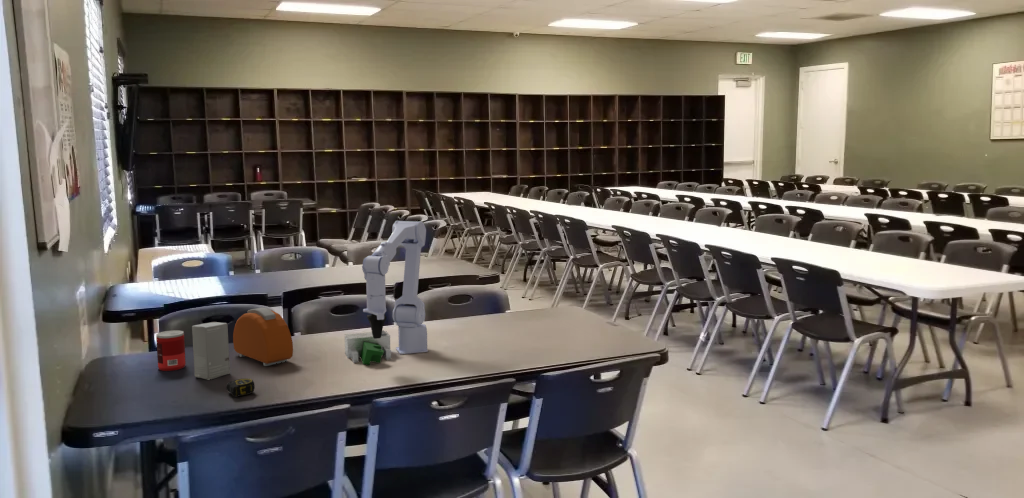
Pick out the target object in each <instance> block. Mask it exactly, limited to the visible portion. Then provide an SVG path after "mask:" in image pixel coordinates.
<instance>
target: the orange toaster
mask: <svg viewBox="0 0 1024 498" xmlns="http://www.w3.org/2000/svg"><path fill="white" fill-rule="evenodd" d="M232 333H233V334H232V342H233V349H234V351H235V352H236V353H237V354H238V355H239V357H240V358H242V357H243V358H244V357H247V358H250V359H253V360H255V361H258V362H261V363H262V364H263V366H264V367H267V366H272V365H277V364H280V363H281V362H282V363H286V362H287V361H288V360H290V359H291V358H292V357H293V356H294V355H293V354H294V344H293V338H292V335H291V332H290V329H289V325H288V323H287V322H286V321H285V319H284V318H283V317H282V315H281V314H279V313H278V312H276V311H274V310H271V309H269V308H267V307H258V308H251V309H248V310H247V313H243V314H242V315H241V316H239V317H238V319H237V320H236V323H235V325H234V327H233V332H232ZM285 361H286V362H285ZM276 363H277V364H276ZM282 363H281V364H282Z"/></svg>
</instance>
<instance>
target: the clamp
mask: <svg viewBox="0 0 1024 498" xmlns="http://www.w3.org/2000/svg"><path fill="white" fill-rule="evenodd" d="M383 353H384V351H383V350H381V345H379V344H375V343H370V342H363V346H362V351H361V356H360V357H359V358H360V360H361V363H362V365H366V366H370V365H371V362H372V363H377V364H380V363H381V360H382V357H384V356H383Z"/></svg>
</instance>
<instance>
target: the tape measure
mask: <svg viewBox="0 0 1024 498" xmlns="http://www.w3.org/2000/svg"><path fill="white" fill-rule="evenodd" d="M255 389H256V388H255V382H254V380H253V379H252V378H237V379H234V380H232V381H228V382H227V383H226V390H227V391H228V392H229V393H230V394H231V395H232V396H233V397H239V396H247V395H249V394H252V393H253V392H254V391H255Z"/></svg>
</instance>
